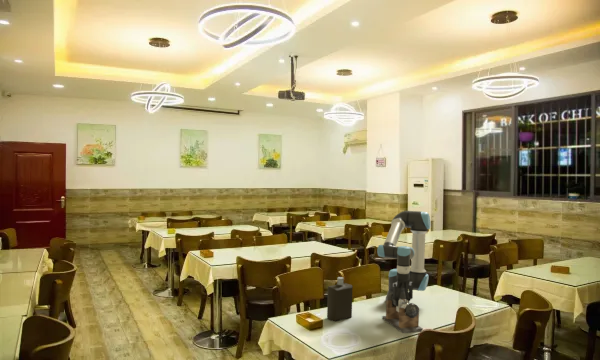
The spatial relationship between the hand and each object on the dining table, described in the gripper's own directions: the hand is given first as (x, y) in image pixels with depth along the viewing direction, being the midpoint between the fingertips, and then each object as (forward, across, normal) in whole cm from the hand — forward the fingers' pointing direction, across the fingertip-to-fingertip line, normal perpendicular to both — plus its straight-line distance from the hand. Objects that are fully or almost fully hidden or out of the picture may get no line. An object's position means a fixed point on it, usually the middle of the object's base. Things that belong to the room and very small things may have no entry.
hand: (402, 311), depth 253 cm
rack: (+8, 0, 0) cm, 8 cm away
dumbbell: (-4, 0, 0) cm, 4 cm away
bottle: (+8, -32, +20) cm, 39 cm away
